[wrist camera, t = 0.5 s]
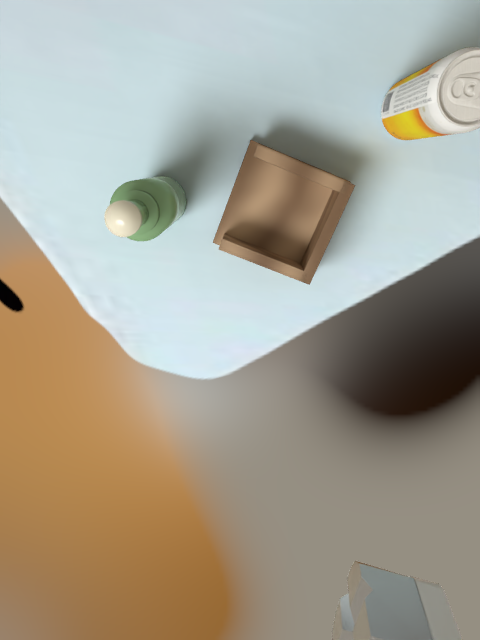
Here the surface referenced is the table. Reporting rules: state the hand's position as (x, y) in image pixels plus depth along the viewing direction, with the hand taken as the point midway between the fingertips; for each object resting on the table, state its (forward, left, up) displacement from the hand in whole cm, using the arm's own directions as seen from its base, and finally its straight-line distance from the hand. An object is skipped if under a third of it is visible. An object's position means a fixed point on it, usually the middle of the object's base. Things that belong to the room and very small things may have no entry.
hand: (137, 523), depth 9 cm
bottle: (+3, -7, -47) cm, 47 cm away
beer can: (-22, +7, -47) cm, 52 cm away
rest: (-5, +4, -47) cm, 47 cm away
